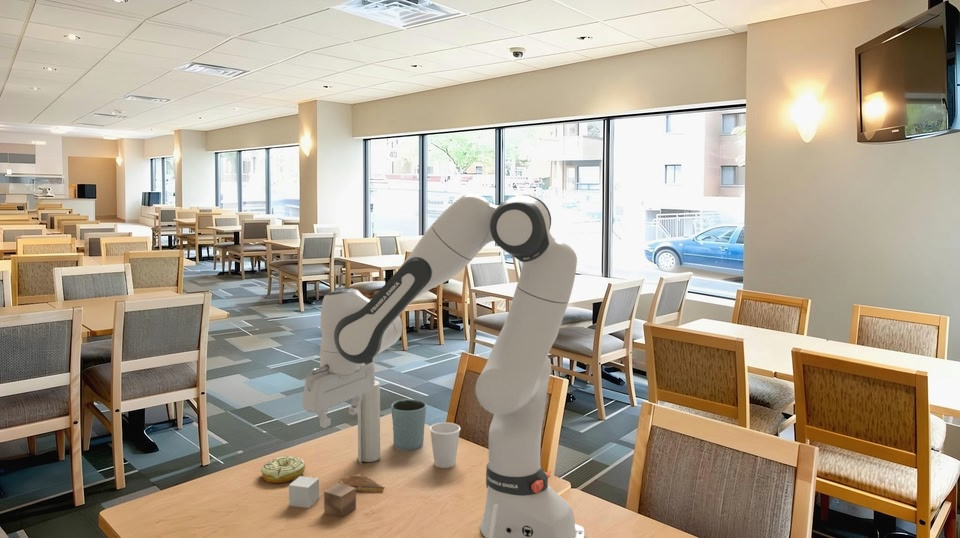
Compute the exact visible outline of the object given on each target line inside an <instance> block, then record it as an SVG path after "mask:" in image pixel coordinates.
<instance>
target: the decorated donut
mask: <svg viewBox="0 0 960 538" xmlns="http://www.w3.org/2000/svg"><path fill="white" fill-rule="evenodd" d="M305 463H306V461H304V459H302V458H300V457H297V456H292V455H284V456H283V455H282V456H278V457H275V458H272V459H270V460H268V461H267V462H266V463H265V464H264V465H263V466H262V467H261V469H260V472H261V475H262V478H263V480H264V481H265V482H266V483H271V484H273V483H274V484H279V483H280V484H283V483H286V482H291V481H292V482H293V481H294V480H296V479H297V478H298V477H299V476H302V475H303V474H304V472H305V469H306V464H305Z"/></svg>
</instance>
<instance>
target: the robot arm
mask: <svg viewBox="0 0 960 538" xmlns="http://www.w3.org/2000/svg"><path fill="white" fill-rule="evenodd" d="M551 226H552V216H551V212H550V210H549V208H548V206H547V205H546V204H545V203H544V202H543V201H542V200H541V199H539V198H538V197H535V196H530V195H516V196H513V197H510V198H508V199H507V200H505V201H502V202H500V203H497V204H496V205H495V204H493V203H491V202H490V201H488V200H487V199H486V198H485V197H483V196H481V195H478V194H475V193H467V194H463V195H462V196H461V197H459V198H458V199H457V200H456V201H454V202H453V203H452V204H450V206H449V207H448V208H446V209H445V210H444V211H443V212H442V213H441V214H440V215H439V216H438V217H437V218H436V219H435V221H433V223H432V224H431V225H430V226H429V228H428V229H427V230H426V232H425V233H424V234H423V235H422V237H421V238H420V239H419V240H418V242H417V243H416V245H415V247H414V248H413V249H412V250H411V252H410V253H409V255H408V257H407V258H406V259H405V260H404V261H403V263H402V264H401V265H400V267H399V268H398V269H397V270H396V271H395V273H394V274H393V275H392V276H391V278H390V279H388V280H387V282H386V283H385V284H384V285H383V286H382V287H381V288H380V289H379V290H378V291H377V292H376V293H375V295H373V297H371V299H370V298H368V297H366V296H364V295H363V293H361V292H360V290H358V289H356V288H352V287H351V288H349V287H347V288H342V289H336V290H332V291H330V292H328V293H326V294H325V295H324V297H323V299H322V303H321V307H320V308H321V309H320V323H319V325H320V328H319V329H320V332H321V341H320V342H321V343H320V348H319V352H320V353H319V358H320V360H319V367H317V368H312V369H311V371H310V372H309V373H308V375H307V376H306V377H305V383H304V387H303V388H304V389H303V394H302V395H303V397H302V408H303V409H304V411H306V412H309V413H313V414H316V416H317V417H318V418H319V425H320V428H323V429H326V428H328V427H330V426H331V425H332V424H331V422H332V419H331V418H329V417H328V415H327V413H329V409H331V408H332V407H335V406H337V405H340V404H342V403H345V402H347V401H349V400H352V401H351V404H350V406H348V414H349V415H350V416H355V415H358V413H359V405H360V403H361V400H362V394H365V393H367V392H370V391H371V390H372V389H373V387H374V381H376V379H375V376H376V375H375V373H376V372H375V371H376V370H375V364H374V363H375V362H376V361H375V360H376V356H378V354H381V353H382V352H384V351H385V350H387V349H388V348H390V347H392V346H394V345H395V344H396V343H397V342H398V341H399V340H400V339H401V337H402V335H403V331H404V324H403V320H402V317H401V314H402V313H403V312H404V311H405V309H406V308H407V307H409V305H410V304H412V302H414V301H415V299H417V298H419V297H420V296H422V295H423V294H424V293H426V292H428V291H430V290H432V289H434V288H436V287H439V285H441V284H442V285H443V284H445V283H446V282H447V281H449V280H451V279H452V278H454V277H455V276H457V275H458V274H459V273H460V272H461V271H463V270H464V269H465V268H466V267H467V266H468V265H469V264H470V263H471V262H472V260H473V259H474V258H475V257H476V256H477V255H478V253H480V251H481V250H482V249H483V248H484V247H485V246H486V245H487V244H489V243H491V242H495V244H496V245H497V246H498V247H499V248H500V249H502V250H503V251H504V252H506V253H508V254H509V255H510V256H512V257H514V258H515V259H517V261H519V262H522V267H521V270H520V274H519V275H520V276H519V277H518V281H517V284H516V287H515V290H514V292H513V293H514V294H513V297H512V300H511V304H510V306H509V309H508V313H507V316H506V319H505V321H504V323H503V326H502V329H501V330H500V332H499V334H498V336H497V338H496V340H495V343H494V345H493V347H492V349H491V351H490V354H489V356H488V357H487V358H488V359H487V361H486V363H485V365H484V367H483V370H481V373H480V374H479V376H478V378H477V380H476V384H475V395H476V398H477V401H478V402H479V404H480V405H481V407H482V408H483V409H484V410H486V411H487V412H488V413H491V414H492V415H493V417H492V420H491V423H490V426H489V429H488V430H489V431H488V463H487V464H486V470H485V471H486V472H485V478H486V479H485V480H486V481H485V484H486V485H485V486H486V487H485V488H486V489H487V491H486V500H485V506H484V512H483V516H482V518H481V523H480V525H479V530H480V532H481V534H482V536H484V538H586V531H585V528H584V527H583V526H582V525H579V524H577V523H576V521H575V516H574V511H573V508H572V506H571V505H570V503H568V502H567V501H566V500H565V499H564V498H563V497H562V496H560V494H558V493H557V492H556V491H555V490H554V489H553V488H552V487H551V486H550V485H549V478H551V475H552V474H551V473H552V471H551V470H548V472H547V473H546V472H545V471H544V469H543V468H542V465H541V446H542V444H541V442H542V441H541V440H542V429H543V428H542V426H543V422H544V421H543V420H544V414H545V409H546V402H547V396H548V387H549V381H550V377H551V373H552V363H551V360H550V357H549V356H548V355H549V353H550V351H551V349H552V347H553V345H554V344H555V341H556V339H557V338H558V336H559V333H560V329H561V326H562V322H563V320H564V316H565V313H566V310H567V307H568V305H569V301H570V298H571V296H572V295H571V294H572V292H573V291H572V290H573V289H574V282H575V278H576V272H577V265H578V264H577V263H578V257H577V254H576V252H575V251H574V249H573V248H572V247H571V246H570V245H568V244H567V243H566V242H563V241H560V240H556V238H555V237H553V236H552V234H551V232H550V229H551Z"/></svg>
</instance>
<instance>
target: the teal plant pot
mask: <svg viewBox="0 0 960 538" xmlns="http://www.w3.org/2000/svg"><path fill="white" fill-rule="evenodd" d="M390 406H391V407H390V408H391V418H392V431H393V432H392V434H393V437H392V438H393V439H392V440H393V442H392V443H393V447H395V449H398V450H401V451H413V450H418V449H421V448H422V447H423V445H424V438H425V437H424V435H425V425H426V413H427V402H425V401H423V400H419V399H415V398H414V399H412V398H411V399H410V398H409V399H400V400H396V401H394V402H392V403H391V405H390Z"/></svg>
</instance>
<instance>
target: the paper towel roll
mask: <svg viewBox="0 0 960 538" xmlns="http://www.w3.org/2000/svg"><path fill="white" fill-rule="evenodd" d="M380 386H381V383H380V381H378V380H375V381H374V387H373V389H372V390H371V391H370V392H367V393H365V394H362V400H361V403H360V405H359V413H358V414H357V457H358V458H357V462H359V463H360V464H362V462H364V463H372V462H373V463H374V462H376V461H378V460H379V459H381V387H380Z"/></svg>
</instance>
